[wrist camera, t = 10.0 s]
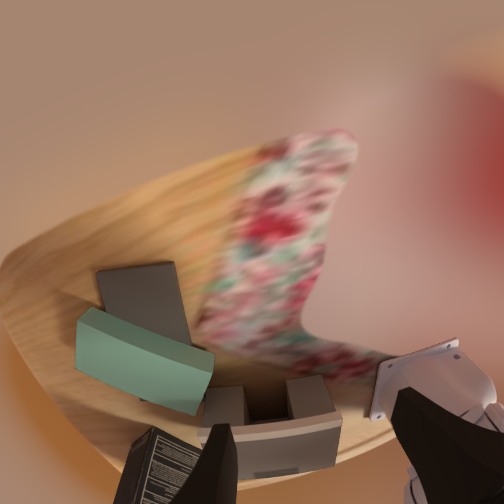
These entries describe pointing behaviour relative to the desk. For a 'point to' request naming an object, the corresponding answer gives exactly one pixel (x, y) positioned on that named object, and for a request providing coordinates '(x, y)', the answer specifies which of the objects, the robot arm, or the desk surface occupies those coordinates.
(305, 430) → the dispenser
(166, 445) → the small box
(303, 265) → the desk surface
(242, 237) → the desk surface
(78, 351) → the green block
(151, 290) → the mat
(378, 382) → the robot arm
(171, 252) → the desk surface
